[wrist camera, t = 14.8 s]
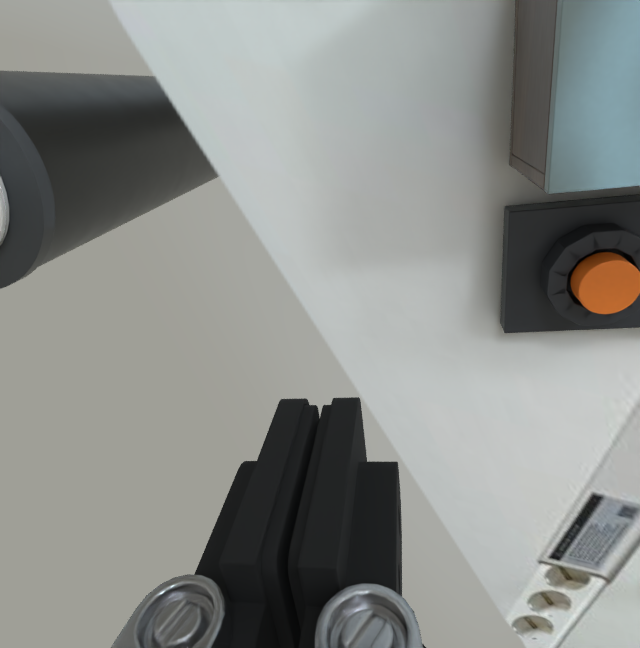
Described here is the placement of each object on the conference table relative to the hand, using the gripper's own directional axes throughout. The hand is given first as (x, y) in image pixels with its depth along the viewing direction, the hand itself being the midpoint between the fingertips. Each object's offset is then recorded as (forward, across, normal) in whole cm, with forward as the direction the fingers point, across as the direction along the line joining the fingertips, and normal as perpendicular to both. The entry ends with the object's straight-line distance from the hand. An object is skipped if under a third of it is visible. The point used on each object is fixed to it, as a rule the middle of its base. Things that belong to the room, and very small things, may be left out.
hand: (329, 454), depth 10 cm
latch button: (+24, -14, +6) cm, 28 cm away
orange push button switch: (+27, -14, +6) cm, 31 cm away
